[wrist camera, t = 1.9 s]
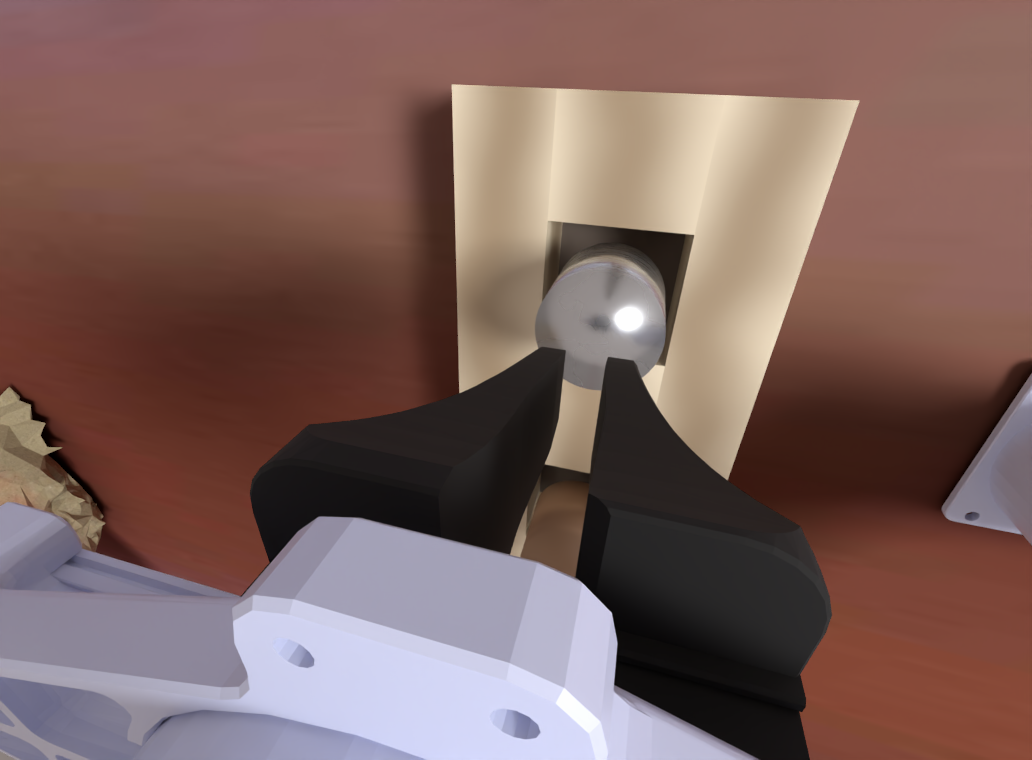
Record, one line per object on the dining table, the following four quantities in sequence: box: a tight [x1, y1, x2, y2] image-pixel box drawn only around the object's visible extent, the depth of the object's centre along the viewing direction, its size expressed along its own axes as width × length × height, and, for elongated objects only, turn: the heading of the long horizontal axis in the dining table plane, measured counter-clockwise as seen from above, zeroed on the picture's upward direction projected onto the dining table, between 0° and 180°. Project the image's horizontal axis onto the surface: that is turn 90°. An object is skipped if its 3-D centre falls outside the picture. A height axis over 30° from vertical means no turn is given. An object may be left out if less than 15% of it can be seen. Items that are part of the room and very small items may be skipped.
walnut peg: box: [520, 481, 589, 578], centre depth 22 cm, size 4×4×3 cm
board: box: [452, 85, 859, 557], centre depth 22 cm, size 12×24×4 cm, turn 178°
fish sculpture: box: [0, 387, 106, 552], centre depth 36 cm, size 18×32×15 cm, turn 52°
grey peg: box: [535, 243, 666, 390], centre depth 16 cm, size 4×4×3 cm
